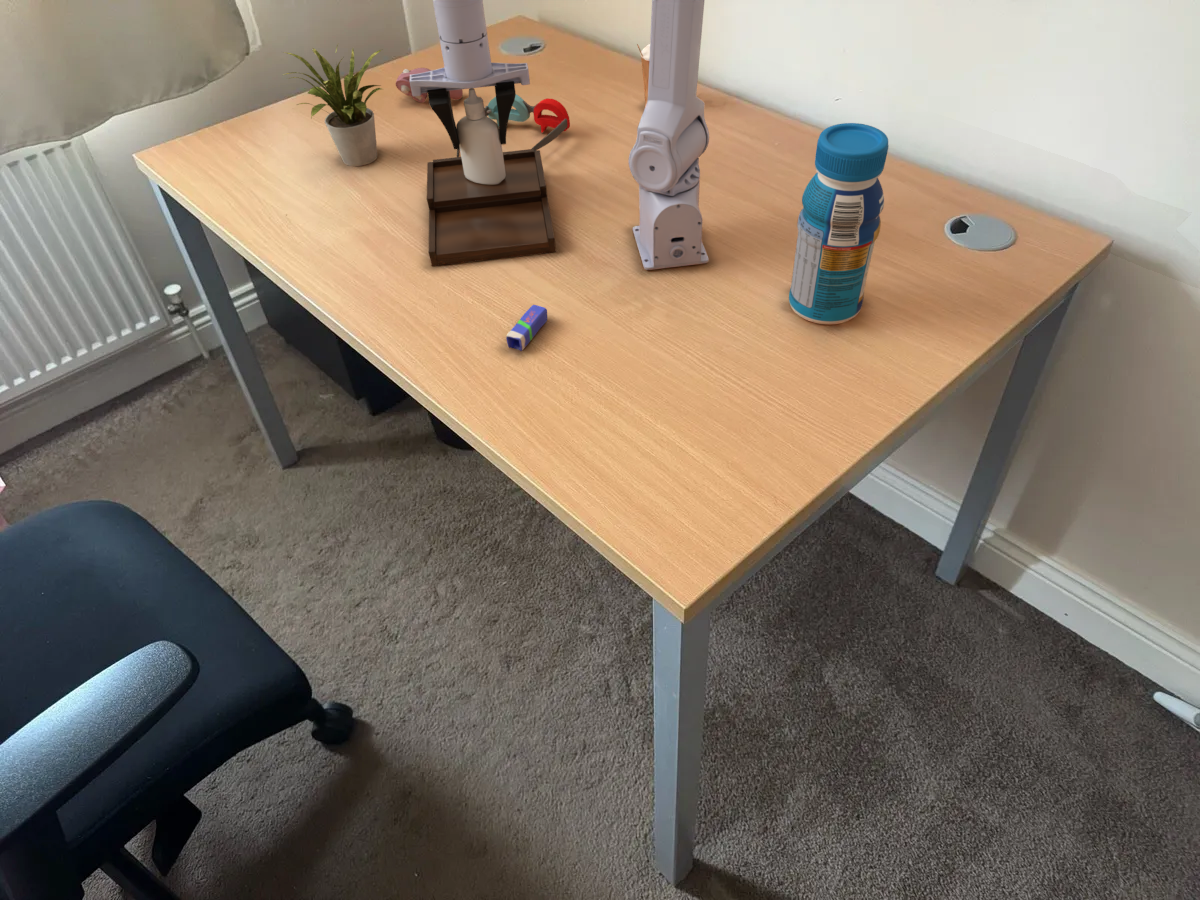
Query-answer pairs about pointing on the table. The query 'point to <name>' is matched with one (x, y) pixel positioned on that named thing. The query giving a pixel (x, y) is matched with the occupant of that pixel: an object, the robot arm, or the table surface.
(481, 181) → the eye dropper bottle
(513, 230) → the step shelf
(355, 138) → the house plant
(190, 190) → the table surface
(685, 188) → the robot arm
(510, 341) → the eraser
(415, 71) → the video game controller
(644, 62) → the frothy drink cup
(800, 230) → the beverage bottle
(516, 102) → the novelty glasses
